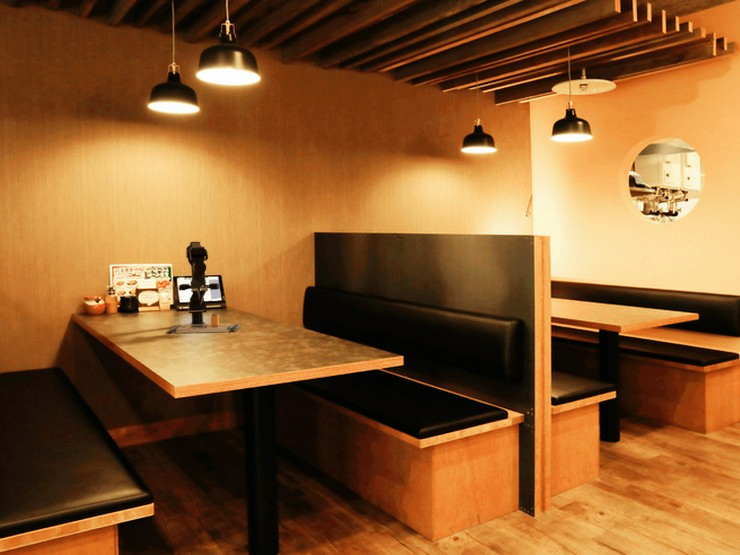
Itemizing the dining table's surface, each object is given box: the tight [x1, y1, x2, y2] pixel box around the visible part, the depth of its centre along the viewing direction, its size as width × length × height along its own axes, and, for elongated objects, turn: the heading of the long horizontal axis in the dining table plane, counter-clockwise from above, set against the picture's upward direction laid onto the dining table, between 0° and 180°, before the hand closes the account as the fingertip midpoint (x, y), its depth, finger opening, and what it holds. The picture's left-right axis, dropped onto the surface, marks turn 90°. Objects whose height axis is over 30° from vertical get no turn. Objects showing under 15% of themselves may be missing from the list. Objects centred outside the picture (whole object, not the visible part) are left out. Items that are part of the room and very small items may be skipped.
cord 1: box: [165, 324, 182, 335], centre depth 308 cm, size 18×3×2 cm, turn 2°
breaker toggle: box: [210, 313, 220, 326], centre depth 308 cm, size 4×3×6 cm
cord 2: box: [228, 323, 242, 333], centre depth 309 cm, size 18×3×2 cm, turn 2°
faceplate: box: [175, 322, 234, 334], centre depth 308 cm, size 15×24×2 cm, turn 92°
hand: (200, 304), depth 307 cm, fingers closed
